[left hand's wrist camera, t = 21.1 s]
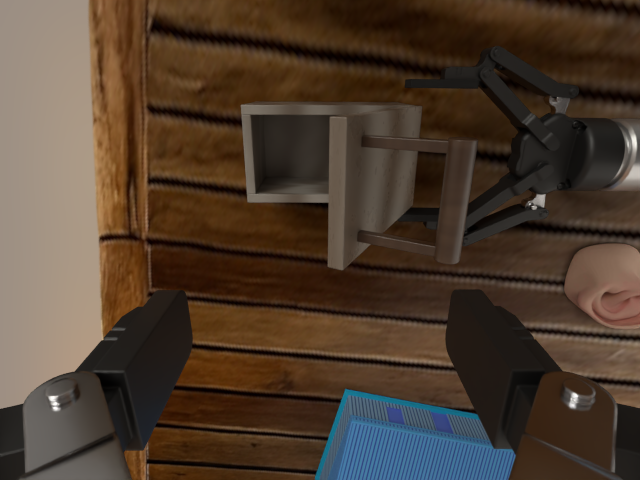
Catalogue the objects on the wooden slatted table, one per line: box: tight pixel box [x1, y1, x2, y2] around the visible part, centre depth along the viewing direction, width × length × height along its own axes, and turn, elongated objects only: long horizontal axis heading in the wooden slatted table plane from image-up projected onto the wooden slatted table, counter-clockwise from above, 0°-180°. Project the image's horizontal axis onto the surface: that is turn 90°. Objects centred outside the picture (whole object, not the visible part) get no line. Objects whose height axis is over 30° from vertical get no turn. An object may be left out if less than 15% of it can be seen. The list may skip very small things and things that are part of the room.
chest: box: [241, 102, 414, 203], centre depth 43 cm, size 17×10×9 cm, turn 90°
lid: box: [328, 106, 478, 270], centre depth 29 cm, size 17×10×8 cm
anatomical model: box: [564, 243, 640, 329], centre depth 52 cm, size 13×4×12 cm
